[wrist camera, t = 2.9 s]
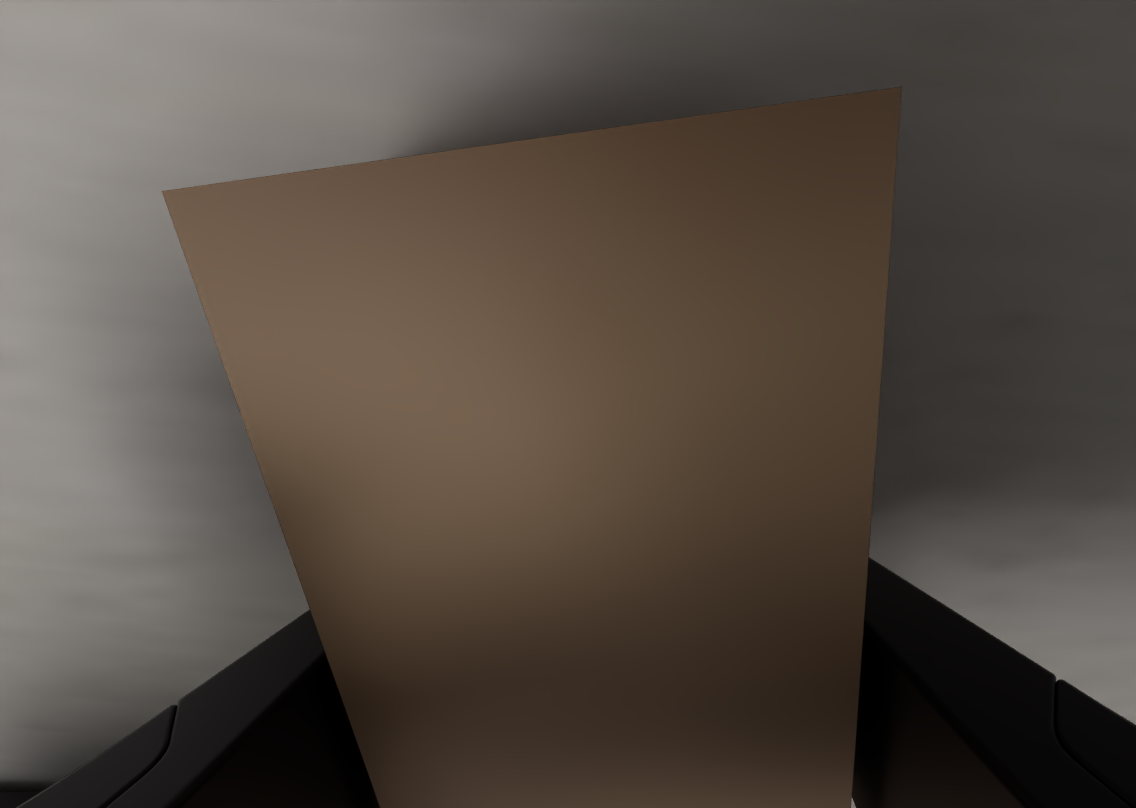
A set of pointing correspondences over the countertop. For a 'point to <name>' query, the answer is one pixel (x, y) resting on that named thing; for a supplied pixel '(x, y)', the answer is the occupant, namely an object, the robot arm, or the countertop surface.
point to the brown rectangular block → (576, 447)
